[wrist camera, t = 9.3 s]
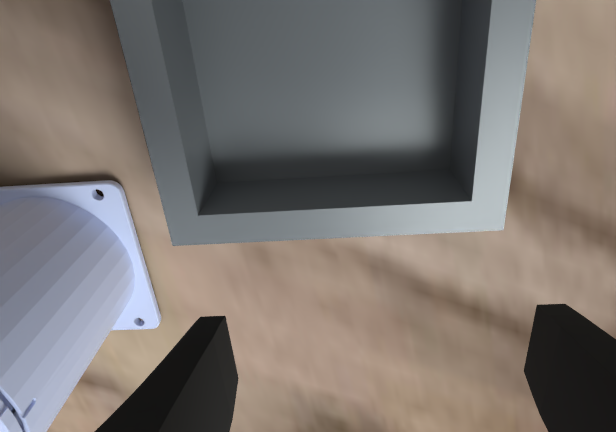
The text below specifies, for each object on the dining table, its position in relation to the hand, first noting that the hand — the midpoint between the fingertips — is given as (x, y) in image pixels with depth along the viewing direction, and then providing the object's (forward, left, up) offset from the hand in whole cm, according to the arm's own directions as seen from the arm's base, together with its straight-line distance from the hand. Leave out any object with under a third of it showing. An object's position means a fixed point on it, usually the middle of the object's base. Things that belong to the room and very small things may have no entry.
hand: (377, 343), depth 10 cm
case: (-1, +4, -9) cm, 10 cm away
